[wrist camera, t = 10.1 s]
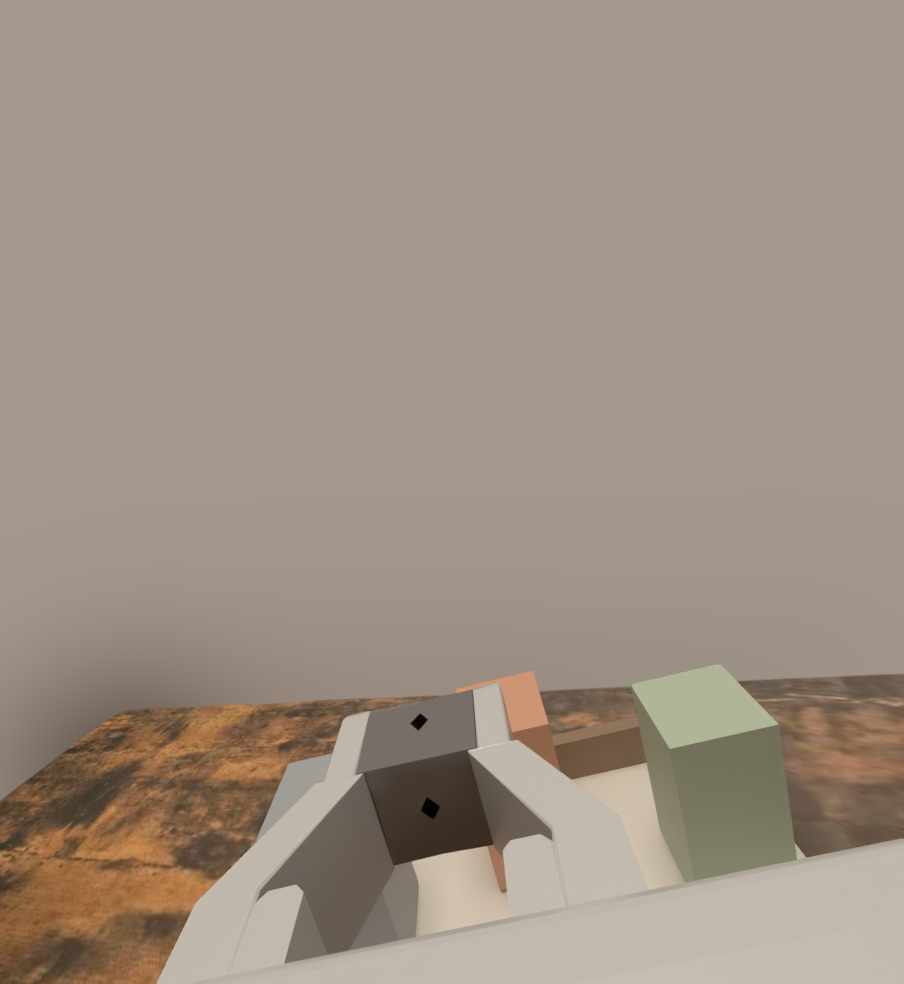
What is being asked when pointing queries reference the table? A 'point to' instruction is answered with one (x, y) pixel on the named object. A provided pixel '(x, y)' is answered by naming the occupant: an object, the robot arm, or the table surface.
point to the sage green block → (714, 773)
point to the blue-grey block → (399, 895)
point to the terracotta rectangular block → (522, 732)
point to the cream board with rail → (600, 771)
